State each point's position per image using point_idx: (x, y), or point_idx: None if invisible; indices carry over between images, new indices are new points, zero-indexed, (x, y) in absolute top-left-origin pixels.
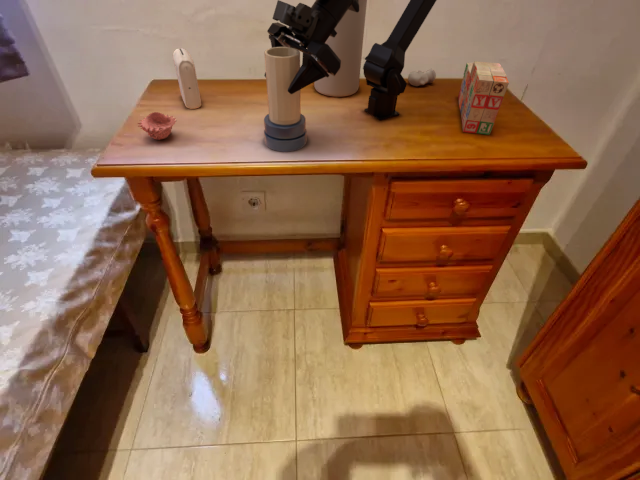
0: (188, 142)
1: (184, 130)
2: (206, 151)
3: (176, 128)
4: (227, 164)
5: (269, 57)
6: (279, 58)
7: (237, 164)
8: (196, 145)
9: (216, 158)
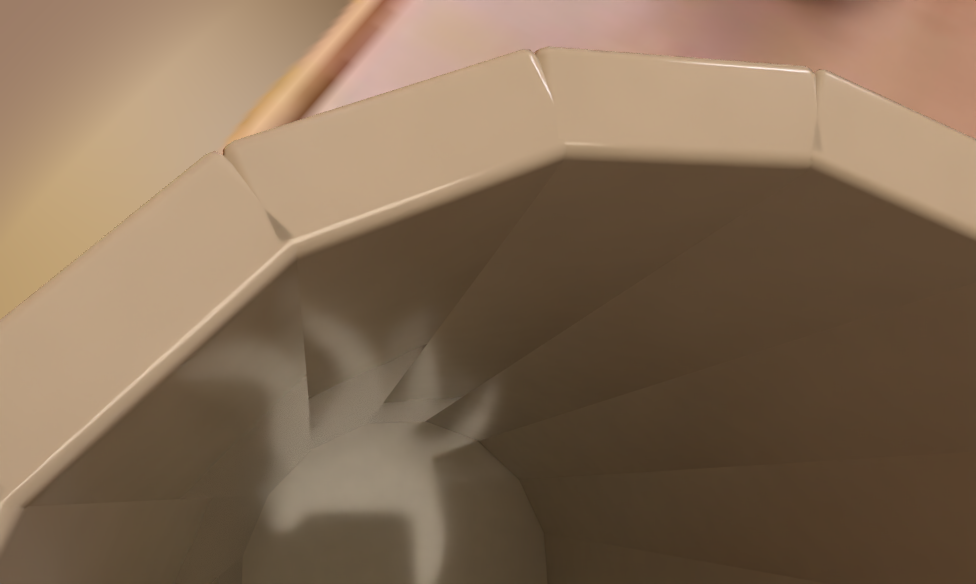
0: (702, 11)
1: (851, 62)
2: (549, 34)
3: (891, 41)
4: (330, 47)
5: (520, 83)
6: (45, 305)
7: (290, 91)
8: (646, 27)
9: (437, 35)
